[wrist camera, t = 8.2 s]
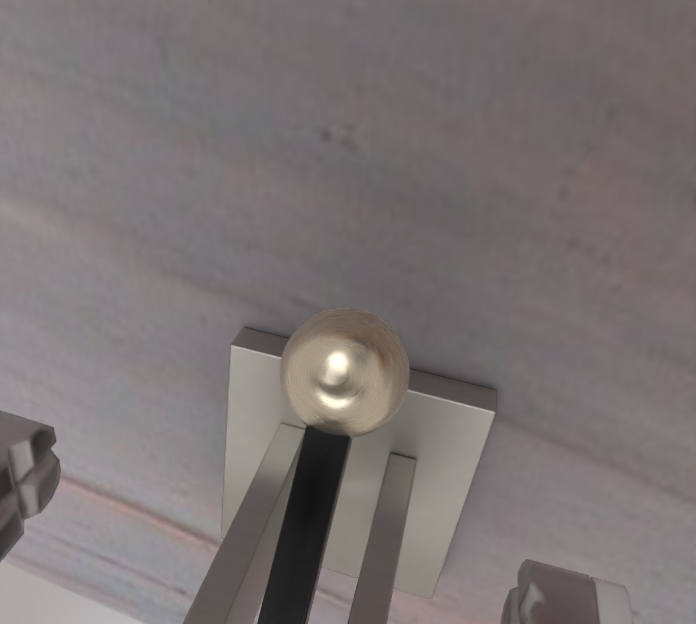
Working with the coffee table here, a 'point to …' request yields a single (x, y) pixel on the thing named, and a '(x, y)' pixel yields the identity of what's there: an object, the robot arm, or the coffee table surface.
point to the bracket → (342, 488)
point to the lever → (328, 437)
